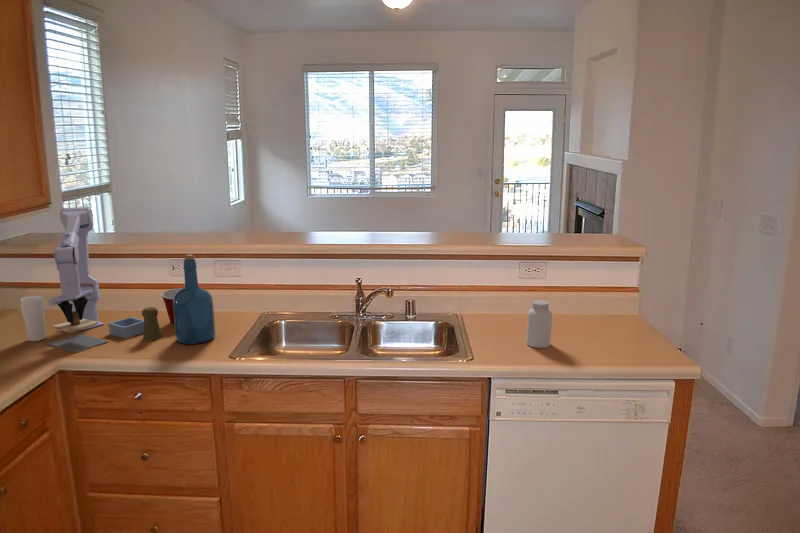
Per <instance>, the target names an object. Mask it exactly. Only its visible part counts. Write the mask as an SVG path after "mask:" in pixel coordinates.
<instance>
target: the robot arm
mask: <svg viewBox="0 0 800 533" xmlns="http://www.w3.org/2000/svg"><path fill="white" fill-rule="evenodd" d="M59 218H60V223H61V224H62V226H63V228H64V232H63V233H62V234H60V237H59V241H58V246H57V248H55V249H54V251H53V252H54V253H53V258H54V261H55V265H56V270H58V276H59V282H60V284H59V285H60V292H61V295H58V296H56V297H52V298H49V299H48V305H49V306H51V307H53V306H56V305H57V306H58V307H59V309H60V310H61V312H62V313H63V315H64V317H65V320H66V322H69V323H72V322H73V317H72V312H74V311H78V312H79V318H80V320H82V319H88V320H92V321H97V322H98V323H99V324H97V325H94V326H91V327H88V328H84V329H82V331H83V330H84V331H85V330H90V329H92V328H96V327H99V326H102V325H104V324H105V323H104V322H102V321H99V314H98V306H97V305H98V304H97V302H99V300H100V298H101V290H100V285H99V281H98V279H96V278H95V277H93V276H91V274H90V257H89V244H88V243H89V242H88V240H89V239H88V237H89V232H90V231H92V230H93V229H94V218H93V211H92V208H91V207H90V206H87V207H61V209H60V210H59Z"/></svg>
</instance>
